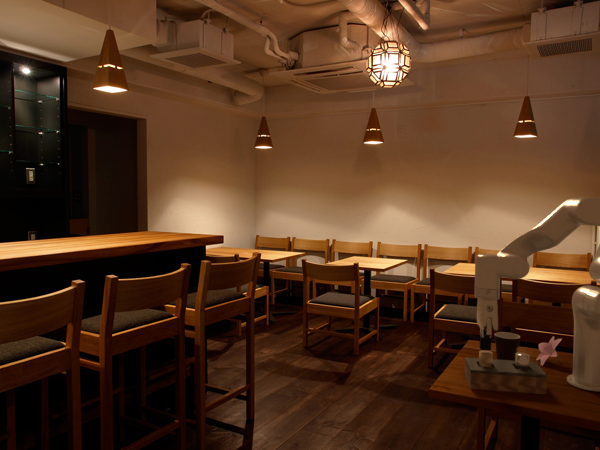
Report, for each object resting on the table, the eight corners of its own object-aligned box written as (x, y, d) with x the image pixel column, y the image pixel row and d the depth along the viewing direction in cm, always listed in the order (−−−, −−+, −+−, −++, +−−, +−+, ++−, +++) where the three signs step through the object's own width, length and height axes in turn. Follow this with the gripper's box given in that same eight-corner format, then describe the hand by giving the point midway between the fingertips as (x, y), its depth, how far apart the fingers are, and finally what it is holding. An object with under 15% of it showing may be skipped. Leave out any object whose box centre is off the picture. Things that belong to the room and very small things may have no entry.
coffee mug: (509, 368, 167) (510, 340, 167) (488, 361, 175) (489, 334, 174) (530, 362, 173) (530, 335, 172) (509, 356, 180) (509, 330, 180)
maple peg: (490, 367, 155) (491, 350, 155) (493, 371, 151) (493, 354, 151) (477, 366, 156) (478, 350, 155) (480, 370, 152) (480, 353, 151)
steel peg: (527, 369, 153) (527, 352, 153) (530, 374, 149) (531, 356, 149) (513, 368, 154) (514, 352, 153) (516, 373, 150) (517, 356, 149)
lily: (540, 358, 181) (529, 337, 180) (573, 351, 175) (561, 329, 174) (539, 377, 171) (527, 355, 170) (574, 371, 165) (562, 348, 164)
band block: (534, 379, 156) (535, 361, 156) (546, 394, 145) (546, 374, 144) (464, 375, 160) (464, 357, 160) (470, 388, 149) (470, 369, 148)
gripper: (504, 298, 144) (502, 358, 145) (494, 289, 159) (492, 343, 160) (478, 297, 146) (476, 356, 146) (470, 288, 160) (469, 342, 161)
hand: (485, 349), depth 153 cm, fingers closed
